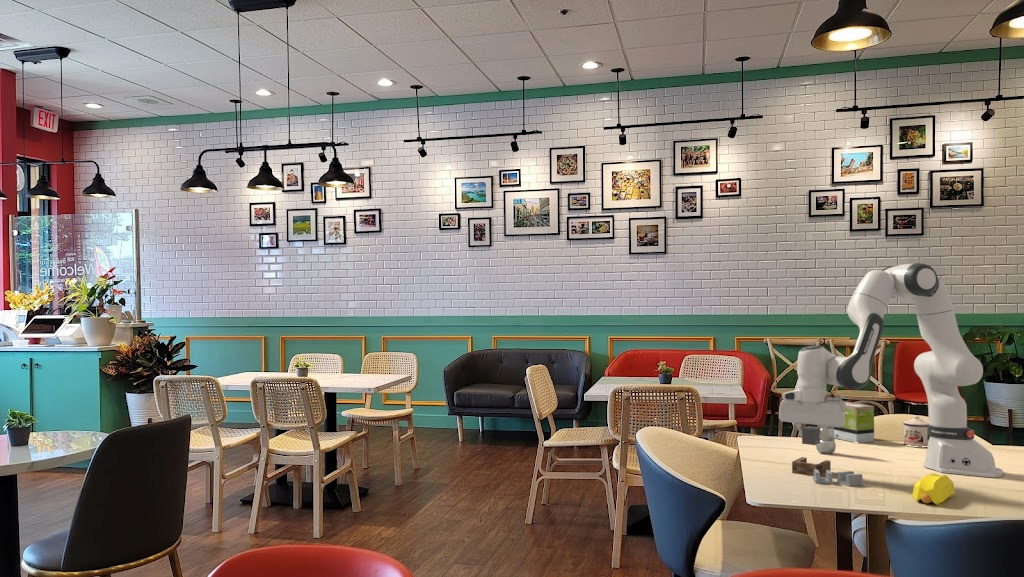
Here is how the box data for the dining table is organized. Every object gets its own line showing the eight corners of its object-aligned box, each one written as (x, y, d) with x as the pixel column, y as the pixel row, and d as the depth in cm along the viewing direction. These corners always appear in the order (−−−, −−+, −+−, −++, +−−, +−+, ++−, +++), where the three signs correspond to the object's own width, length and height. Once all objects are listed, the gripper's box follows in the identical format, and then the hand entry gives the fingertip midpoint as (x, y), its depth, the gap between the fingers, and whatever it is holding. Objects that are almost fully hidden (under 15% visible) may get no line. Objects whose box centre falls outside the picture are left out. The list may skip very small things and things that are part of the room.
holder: (830, 471, 237) (830, 460, 237) (821, 476, 230) (821, 465, 230) (802, 467, 243) (802, 457, 243) (792, 472, 235) (792, 461, 235)
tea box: (827, 437, 304) (827, 401, 304) (844, 436, 308) (844, 400, 308) (857, 443, 290) (856, 406, 290) (875, 442, 294) (875, 405, 294)
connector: (824, 441, 241) (824, 426, 241) (814, 445, 233) (815, 429, 234) (811, 439, 244) (811, 424, 244) (802, 443, 236) (802, 428, 236)
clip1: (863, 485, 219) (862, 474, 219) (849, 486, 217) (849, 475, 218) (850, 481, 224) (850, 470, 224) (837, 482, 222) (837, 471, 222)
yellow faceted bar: (957, 496, 207) (927, 492, 212) (957, 473, 207) (927, 468, 212) (940, 509, 194) (909, 503, 199) (940, 483, 194) (908, 478, 199)
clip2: (830, 480, 224) (830, 470, 225) (833, 484, 220) (833, 473, 220) (812, 479, 226) (812, 469, 226) (815, 483, 221) (815, 472, 221)
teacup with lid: (899, 445, 286) (899, 415, 286) (908, 443, 292) (907, 413, 293) (933, 450, 277) (933, 419, 278) (941, 447, 284) (941, 417, 284)
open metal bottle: (818, 450, 273) (818, 397, 274) (837, 453, 269) (837, 398, 270) (814, 453, 268) (813, 398, 269) (833, 455, 264) (833, 400, 265)
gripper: (848, 397, 233) (848, 441, 233) (783, 392, 246) (783, 433, 246) (842, 399, 228) (842, 443, 228) (777, 393, 241) (776, 435, 241)
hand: (811, 438), depth 237 cm, fingers closed on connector, 4 cm apart
